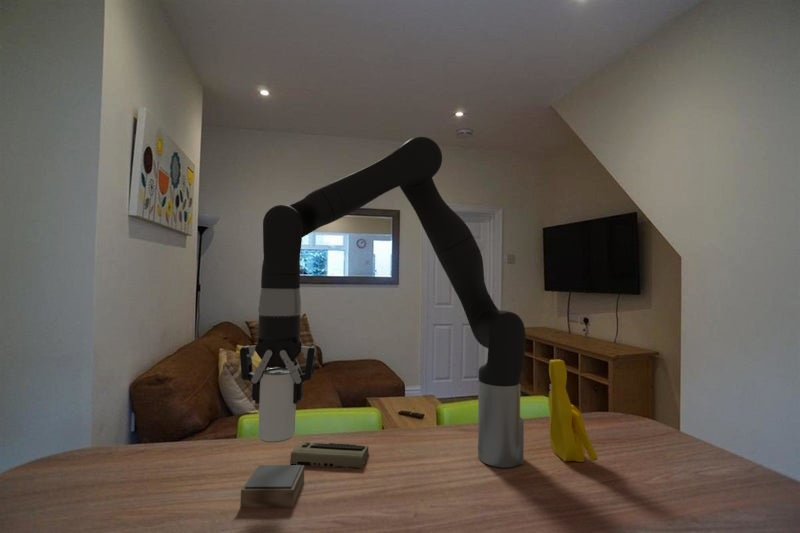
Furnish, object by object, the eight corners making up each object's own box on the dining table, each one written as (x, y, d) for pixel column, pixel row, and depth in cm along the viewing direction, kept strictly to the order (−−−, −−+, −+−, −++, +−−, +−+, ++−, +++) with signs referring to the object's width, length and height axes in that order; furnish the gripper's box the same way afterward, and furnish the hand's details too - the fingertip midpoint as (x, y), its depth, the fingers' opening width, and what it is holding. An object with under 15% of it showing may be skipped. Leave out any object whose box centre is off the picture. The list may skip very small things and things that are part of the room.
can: (250, 439, 69) (252, 372, 70) (274, 427, 75) (276, 365, 76) (279, 445, 67) (281, 376, 68) (302, 432, 73) (303, 369, 74)
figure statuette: (606, 475, 79) (605, 368, 80) (570, 476, 79) (569, 368, 80) (563, 440, 97) (563, 353, 98) (533, 441, 96) (533, 353, 97)
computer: (368, 454, 89) (369, 439, 89) (362, 471, 81) (362, 455, 81) (302, 450, 90) (302, 436, 90) (289, 467, 82) (290, 451, 82)
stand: (304, 481, 75) (304, 463, 76) (293, 507, 66) (293, 488, 67) (257, 481, 75) (258, 463, 75) (240, 507, 66) (240, 488, 66)
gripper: (321, 311, 76) (319, 396, 76) (248, 310, 76) (245, 396, 75) (314, 314, 69) (312, 409, 68) (233, 313, 68) (230, 409, 68)
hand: (277, 402), depth 72 cm, fingers closed on can, 6 cm apart
